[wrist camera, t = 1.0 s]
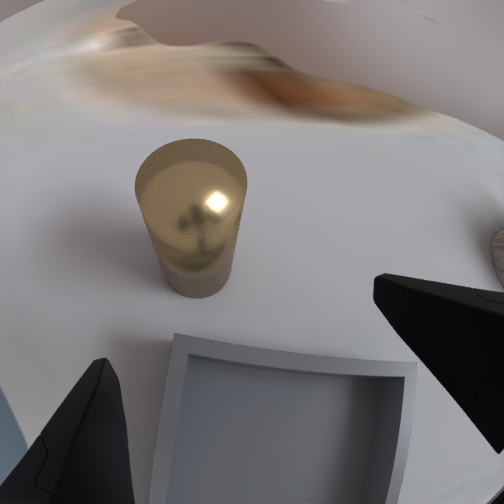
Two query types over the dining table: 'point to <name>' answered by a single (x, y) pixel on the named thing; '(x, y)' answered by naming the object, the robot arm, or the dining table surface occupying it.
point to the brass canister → (193, 212)
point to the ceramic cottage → (498, 254)
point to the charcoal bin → (280, 427)
